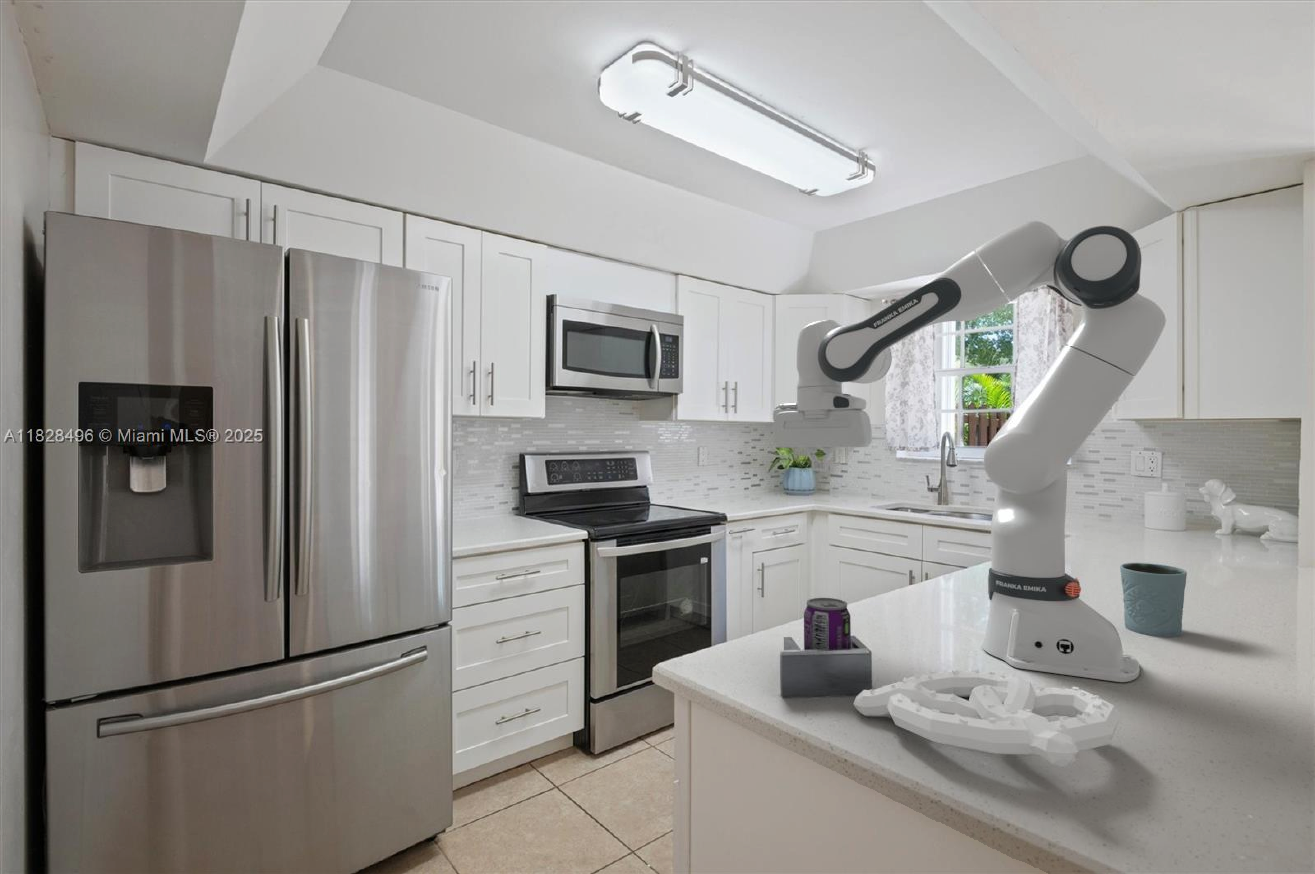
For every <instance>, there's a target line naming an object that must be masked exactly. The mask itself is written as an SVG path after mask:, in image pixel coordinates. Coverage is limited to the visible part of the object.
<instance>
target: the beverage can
mask: <svg viewBox="0 0 1315 874" xmlns="http://www.w3.org/2000/svg"><path fill="white" fill-rule="evenodd" d="M851 620H852V619H851V614H850V611H849V610H848V602H846V601H845V600H842V599H839V598H833V597H814V598H810V599H808V600H806V607H805V609H804V611H803V650H819V649H851V636H852V633H851V632H852V631H851V625H852V624H851Z"/></svg>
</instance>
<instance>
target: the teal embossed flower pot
mask: <svg viewBox="0 0 1315 874" xmlns="http://www.w3.org/2000/svg"><path fill="white" fill-rule="evenodd" d="M1119 568H1120V569H1119V570H1120V579H1121V586H1122V595H1123V598H1122V600H1123V608H1124V611H1123V612H1124V617H1123V619H1124V626H1125V629H1127V630H1129V631H1132V632H1134V633H1138V634H1142V635H1146V636H1151V637H1152V636H1153V637H1158V638H1177V637H1179V636H1181V635H1182V629H1183V615H1184V614H1183V613H1184V610H1183V609H1184V602H1185V589H1186V584H1187V578H1188V577H1187V575H1188V573H1187V570H1185V569H1183V568H1180V567H1176V566H1171V565H1166V564H1158V563H1150V562H1126V563H1122V564H1120V566H1119Z"/></svg>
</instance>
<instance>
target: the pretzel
mask: <svg viewBox="0 0 1315 874" xmlns="http://www.w3.org/2000/svg"><path fill="white" fill-rule="evenodd" d="M902 678H903V680H901V681H897V682H893V683H890V684H887V685H882V687H878V688H875V689H873V688H872V689H870V690H863V691H862V692H861V693H860V694H859V695H858V696H855V699H854V702H853V705H854V707H855V709H856V711H859V713H861V714H862V715H863V716H865V717H876V718H877V717H882V718H883V717H888V716H891V718H892V720H893V723H894V724H895V726H898V727H900V728H902V729H904V730H906V731H909V732H911V733H912V734H915V735H918V736H920V737H922V738H925V739H927V740H929V741H932V742H934V743H938V744H942V745H947V746H952V747H957V748H962V749H967V750H968V749H969V750H971V751H972V750H973V751H978V752H983V753H989V754H995V755H1020V756H1021V755H1022V756H1023V755H1024V756H1025V755H1027V756H1040V757H1041V758H1042V759H1044V760H1046V761H1047V762H1049V763H1050V764H1052V765H1054V766H1055V765H1056V766H1058V767H1060V768H1066V767H1067V766H1069V765H1071V764H1072V763H1074V762H1075V760H1076V756H1077V753H1078V752H1080V751H1081V752H1082V751H1085V750H1090V749H1094V748H1095V749H1096V748H1097V747H1103V746H1108V745H1109V744H1110V743H1111V740H1112V739H1113V736H1114V735H1115V732H1116V731H1117V728H1118V726H1119V723H1120V720H1121V715H1120V713H1119V712H1118V710H1117V708H1116V707H1115V705H1114V704H1113V703H1109V702H1108V701H1106V700H1104V699H1103V698H1100V696H1099V695H1098V694H1096V695H1095V694H1092V693H1091V692H1088V691H1086V690H1083V689H1080V687H1078V686H1072V687H1071V688H1067V687H1066V686H1064V685H1062V687H1053V686H1051V687H1041V686H1038V687H1037V689H1034V686H1033V685H1032V683H1031V682H1030V681H1028V680H1026V679H1024V678H1021V677H1015V676H1009V675H1008V674H1007V675H1006V674H1002V675H999V674H996V672H995V671H988V672H983V671H980V670H979V669H976V668H974V669H972V670H971V671H959V669H957V668H956V669H953V670H951V671H949V670H947V671H941V672H936V671H933V670H932V671H931V670H930V671H929V672H928V674H921V675H920V674H914V675H913V676H910V677H906V676H905V677H902ZM962 697H963V698H962ZM965 698H969V699H968V700H967V699H965ZM1052 716H1059V717H1058V718H1059V720H1054V721H1049V720H1048V719H1047V717H1052Z"/></svg>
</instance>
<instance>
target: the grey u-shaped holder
mask: <svg viewBox="0 0 1315 874" xmlns="http://www.w3.org/2000/svg"><path fill="white" fill-rule="evenodd" d="M872 655H873V653H872V651H871V650H870V649H869V647H867V646H866V644H864V643H863V642H862V641H861V640H860V639H858V638H857V636H856V635H851V649H819V650H804V649H801V648H800V646H799V645H798V644H797V642H796V641H795V640H794V639H793V637H792V636H783V650H780V653H779V670H780V671H779V674H780V675H779V676H780V677H779V680H780V681H779V682H780V685H779V687H780V690H779V692H780V693H779V694H780V696H781V698H817V697H818V698H821V697H824V698H825V697H856V696H858V695H859V694H860V693H861V692H862V691H863V690H870V689H872V690H873V674H872V673H873V668H872V667H873V664H872V662H873V661H872V659H873V658H872Z"/></svg>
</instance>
